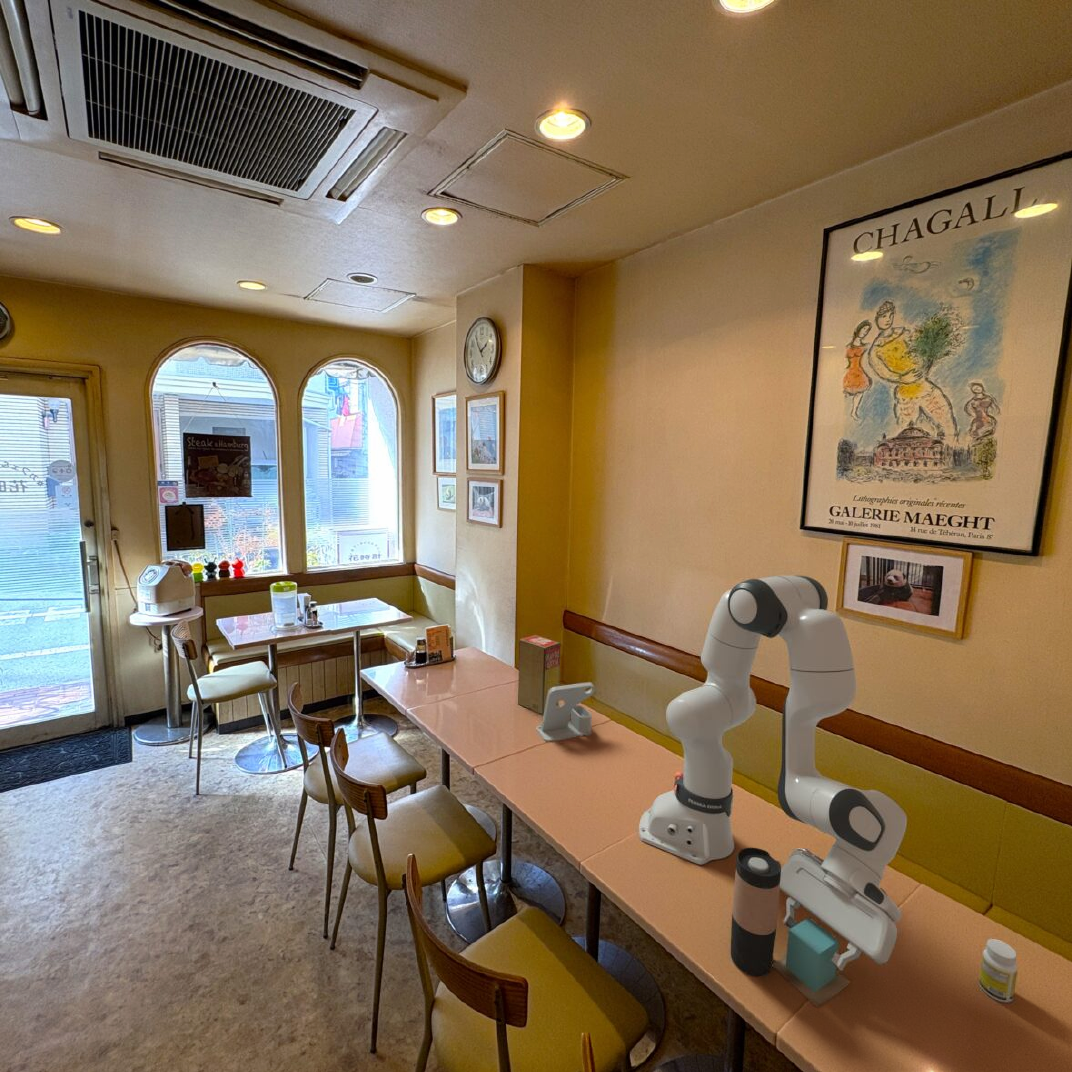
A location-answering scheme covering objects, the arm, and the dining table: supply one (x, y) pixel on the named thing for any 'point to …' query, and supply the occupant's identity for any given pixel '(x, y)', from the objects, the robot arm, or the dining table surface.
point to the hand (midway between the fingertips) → (810, 945)
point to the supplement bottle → (998, 971)
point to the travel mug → (755, 911)
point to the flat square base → (815, 998)
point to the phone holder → (566, 712)
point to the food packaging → (537, 671)
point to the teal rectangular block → (811, 954)
